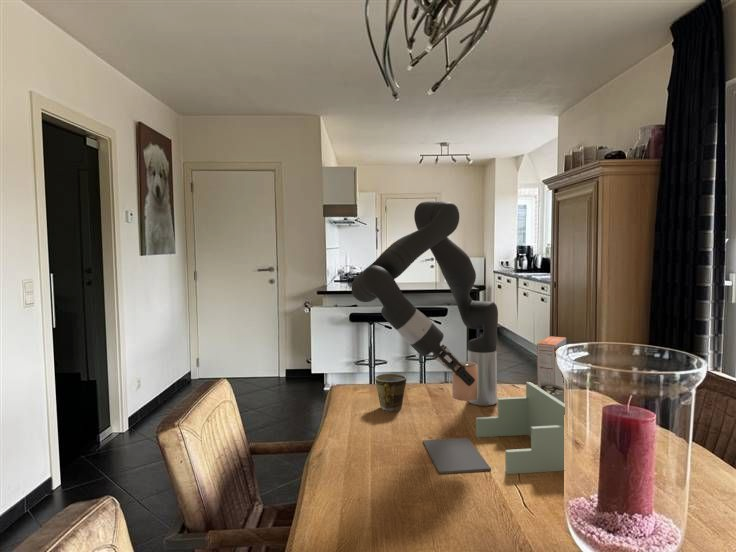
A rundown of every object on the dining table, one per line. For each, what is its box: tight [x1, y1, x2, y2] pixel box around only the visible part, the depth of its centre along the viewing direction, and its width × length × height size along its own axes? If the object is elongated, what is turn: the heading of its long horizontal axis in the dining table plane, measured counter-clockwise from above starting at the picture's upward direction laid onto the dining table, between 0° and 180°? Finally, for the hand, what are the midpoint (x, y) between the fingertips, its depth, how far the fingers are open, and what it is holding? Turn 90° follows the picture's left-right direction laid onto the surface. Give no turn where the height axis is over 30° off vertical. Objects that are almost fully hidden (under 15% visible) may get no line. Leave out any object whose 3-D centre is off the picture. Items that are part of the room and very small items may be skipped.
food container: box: [541, 383, 565, 404], centre depth 137 cm, size 12×6×10 cm, turn 168°
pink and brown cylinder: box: [451, 361, 478, 402], centre depth 116 cm, size 6×6×8 cm
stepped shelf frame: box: [475, 381, 566, 475], centre depth 118 cm, size 22×15×14 cm
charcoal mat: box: [422, 437, 492, 475], centre depth 117 cm, size 18×12×1 cm, turn 5°
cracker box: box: [536, 335, 567, 388], centre depth 153 cm, size 14×6×21 cm, turn 144°
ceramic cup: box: [374, 373, 407, 412], centre depth 152 cm, size 13×10×10 cm
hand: (467, 379), depth 116 cm, fingers closed on pink and brown cylinder, 6 cm apart
